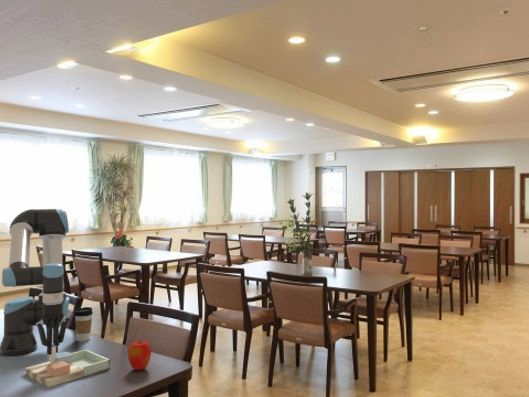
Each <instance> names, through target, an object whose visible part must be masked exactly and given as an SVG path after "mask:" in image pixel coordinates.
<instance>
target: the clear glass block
mask: <svg viewBox="0 0 529 397" xmlns="http://www.w3.org/2000/svg"><path fill="white" fill-rule="evenodd" d="M60 361H64V362H66V363H71V362H73V355H72V354H71V353H69V352H67V351H62V352H58V353H56V362H60ZM56 362H55V363H56Z"/></svg>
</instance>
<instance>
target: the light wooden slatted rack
mask: <svg viewBox="0 0 529 397" xmlns="http://www.w3.org/2000/svg"><path fill="white" fill-rule="evenodd" d="M49 364H53V363H51V362H49V361H46V362H42V363H39V364H35V365H31V366H27V367H25V375H27V376H28V377H29V378H31V379H33V380H35V381H37V382H39V383H40V384H41V385H43V386H45V387H47V388H51V387H53V386H56V385H59V384H63V383H67V382H69V381H72V380H76V379H79V378H82V377H85V376H84V369H82V368H80V367H78V366H76V365H74V364H71V363H68V364H70V372H69V373H66V374H63V375H59V376H56V377H54V376H52V375H50V374H48V373H47V365H49ZM50 386H51V387H50Z"/></svg>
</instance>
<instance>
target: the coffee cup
mask: <svg viewBox="0 0 529 397" xmlns="http://www.w3.org/2000/svg"><path fill="white" fill-rule="evenodd" d="M93 315H94V313H93V308H92V307H90V306H85V307H80V308H77V309H75V311H74V316H75V317H74V318H75V320H74V321H75V322H74V323H75V332H76V333H75V334H76V341H77V342H87V341H89V340H90V339H91V332H92V321H93Z"/></svg>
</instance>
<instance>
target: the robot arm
mask: <svg viewBox="0 0 529 397" xmlns="http://www.w3.org/2000/svg"><path fill="white" fill-rule="evenodd" d="M69 229H70V226H69V220H68V214H67V212H66V210H65V209H62V208H61V209H59V208H44V209H43V208H41V209H38V208H37V209H33V208H32V209H26V210H24V211H22V212H21V213H19V214H17V215H16V217H14V219H13V220H12V221H11V223H10V225H9V235H10V238H11V240H10V248H9V249H10V250H9V251H10V252H9V260H8V267H6V268H5V267H4V268H3V269H2V271H1V272H2V273H1V284H2V286H3V287H5V288H6V287H9V288H10V287H12V288H15V287H24V286H25V287H26V286H27V287H28V286H41V285H42V286H41V293H40V294H38V299H34V297H33V296H22V297H17V298H13V299H10V300H8V301H6V303H5V304H4V307H3V315H4V316H3V336H2V340H1V342H0V355H2V356H5V357H8V356H9V357H11V356H15V357H16V356H21V355H27V354H30V353H33V352H34V351H36V350H37V349H38V341H37V339H36V335H35V333H34V327H35V326H36V328H37V330H38V334H39V338H40V342H41V345H42V346H44V347H46V354H47V355H48V362H51V363H55V362H56V354H58V353H59V346H60V344H61V343H64V340H65V335H66V334H65V333H66V330H67V326H68V323H69V322H70V317H68V312H69V305H70V297H69V296H67V293H66V292H65V291H64V272H65V271H64V265H63V240H64V239H65V238H66V236H67V235H66V234H68V233H69V232H70V230H69ZM33 234H34V235H35V234H37V235H38V236H39V239H40V240H41V241H42V260H41V261H42V262H41V263H42V266H30V253H31V252H30V251H31V250H30V249H31V237H32V235H33ZM44 326H45V327H46V328H45V329H46V332H45V329H44Z"/></svg>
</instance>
